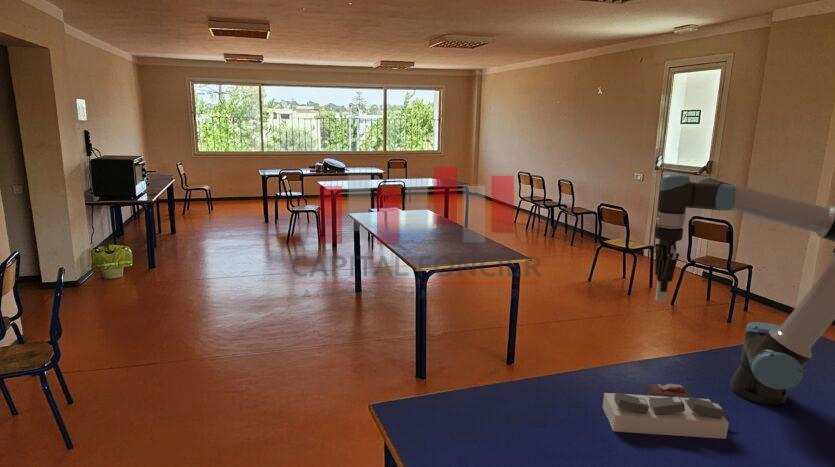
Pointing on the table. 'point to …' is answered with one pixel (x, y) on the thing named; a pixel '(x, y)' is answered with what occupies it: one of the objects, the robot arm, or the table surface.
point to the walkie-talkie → (667, 390)
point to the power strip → (664, 420)
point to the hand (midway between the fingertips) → (660, 300)
